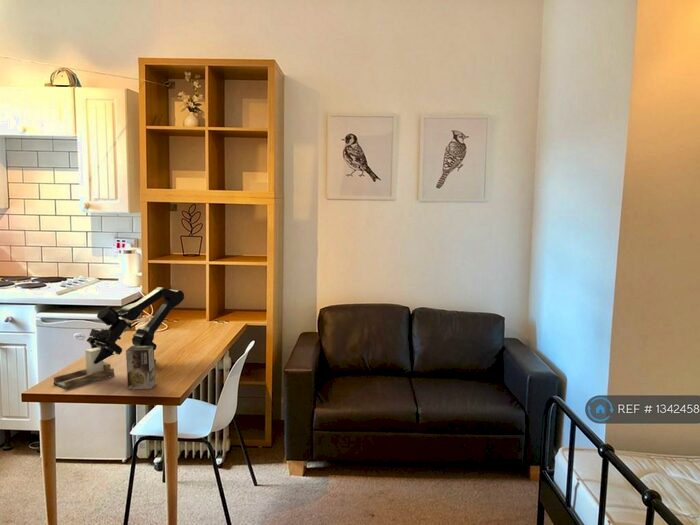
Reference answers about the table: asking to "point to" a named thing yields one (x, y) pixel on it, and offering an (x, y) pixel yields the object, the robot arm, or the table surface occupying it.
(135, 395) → the table surface
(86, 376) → the track
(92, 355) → the block
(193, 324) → the table surface
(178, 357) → the table surface
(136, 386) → the coffee box
